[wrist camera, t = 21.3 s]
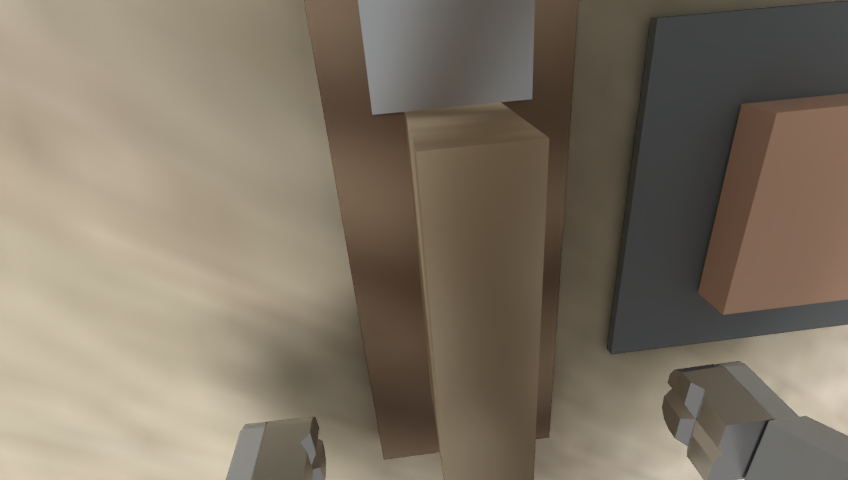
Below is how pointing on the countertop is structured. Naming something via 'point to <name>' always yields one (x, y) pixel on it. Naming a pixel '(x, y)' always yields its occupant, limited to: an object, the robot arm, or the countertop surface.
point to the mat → (710, 162)
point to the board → (394, 215)
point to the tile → (782, 208)
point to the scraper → (471, 214)
